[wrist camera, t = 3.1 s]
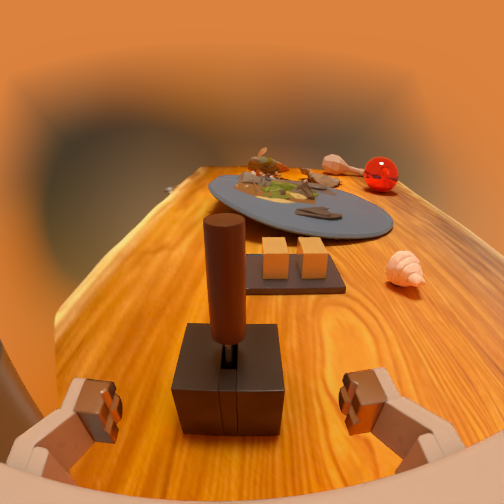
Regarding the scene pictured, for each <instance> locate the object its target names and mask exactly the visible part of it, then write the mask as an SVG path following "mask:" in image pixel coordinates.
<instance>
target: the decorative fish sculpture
mask: <svg viewBox="0 0 504 504" xmlns="http://www.w3.org/2000/svg"><path fill="white" fill-rule="evenodd" d="M266 151H267V148H263V149H262V150H261V151H260V152H259V154H258V157H251V161H250V162H249V163H248V166H247V167H248V169H249V170H251V171H253V170H254V172H256V176H258V177H261V175H263V176H262V177H265V174H267V175H268V173H270V175H272V176H278V175H277V174H276V173H275V172H278V173H283V172H288V171H290V170H289V169H288V168H287V167H286V166H285V165H283V164H281V163H279V162H277V161H276V160H273V159H271V158H269V157H260V156H261V155H263V154H264V153H265V152H266ZM266 164H267V165H266ZM259 172H261V173H262V174H260V173H259Z"/></svg>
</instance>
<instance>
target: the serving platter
mask: <svg viewBox="0 0 504 504" xmlns="http://www.w3.org/2000/svg"><path fill="white" fill-rule="evenodd" d="M266 165H267V164H266ZM259 173H260V174H262V173H261V172H259ZM275 173H276V174H277V173H278V172H275ZM268 175H270V173H268ZM262 176H263V175H261V177H258V176H256V173H255V172H254V170H253V171H252V172H251V173H249V172H246V171H245V172H242V173H241V175H222V176H219V177H217V179H215V180H213V181H211V182H210V183H209V185H208V188H209V191H210V192H211V194H212V195H213V196H214V197H215V198H216V199H218V200H219V201H221V202H222V203H224V204H225V205H227V206H228V207H230V208H231V209H233V210H235V211H237V212H239V213H241V214H243V215H245V216H247V217H249V218H251V219H253V220H255V221H257V222H260V223H262V224H265V225H267V226H270V227H273V228H276V229H280V230H283V231H287V232H291V233H296V234H301V235H306V236H312V237H320V238H329V239H365V238H373V237H378V236H381V235H383V234H385V233H387V232H388V231H389V230H390V229H391V228H392V226H393V219H392V218H391V216H390V215H389V214H388V213H387V212H386V211H385V210H383V209H382V208H380V207H379V206H377V205H375V204H373V203H371V202H369V201H367V200H365V199H362V198H360V197H358V196H356V195H353V194H350V193H347V192H344V191H341V190H337V189H333V188H329V187H326V186H325V185H323V184H318V183H310V182H308V180H307V178H306V179H305V180H304V181H303V182H301V181H292V180H279V179H280V177H281V174H280V175H278V179H275V178H273V176H269V177H271V178H268V177H267V174H265V177H262Z"/></svg>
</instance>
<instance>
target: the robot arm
mask: <svg viewBox="0 0 504 504" xmlns="http://www.w3.org/2000/svg"><path fill="white" fill-rule="evenodd" d="M342 381H343V383H344V386H343V387H342V388H341V389H340V392H339V406H340V409H341V412H342V413H343V414H344V415H346V416H347V417H346V420H345V424H346V426H347V429H348V432H349V435H356V434H361V433H367V432H371V433H372V434H373V435H374V436H376V437H377V438H378V439H379V440H380V441H381V442H383V443H384V444H385V445H386V446H387V447H389V448H390V449H391V450H392V451H394V452H395V453H396V454H397V455H398V456H400V457H401V458H402V459H403V461H402V462H401V463H400V465H399V466H398V468H397V469H396V471H395V475H391V476H388V477H385V478H381V479H377V480H374V481H370V482H366V483H362V484H358V485H353V486H349V487H344V488H339V489H334V490H329V491H324V492H318V493H312V494H305V495H298V496H291V497H282V498H272V499H260V500H244V501H182V500H166V499H154V498H144V497H136V496H128V495H121V494H115V493H109V492H103V491H98V490H93V489H88V488H84V487H79V486H76V484H77V483H76V482H75V480H74V479H73V478H72V477H71V476H70V475H69V474H68V473H67V471H68V470H69V469H70V468H71V467H72V466H73V465H74V464H75V463H76V462H77V461H78V460H79V459H80V458H81V457H82V456H83V455H84V454H85V452H86V451H87V450H88V449H89V448H90V447H91V446H92V445H93V444H94V443H95V442H103V443H112V444H115V443H116V439H117V435H118V431H119V429H118V427H117V425H116V424H117V423H118V422H119V421H121V418H122V401H121V399H120V396H118V395H117V394H116V393H115V391H116V387H115V384H114V382H111V381H102V380H94V379H84V378H77V377H75V378H74V379H73V380H72V382H71V385H70V387H69V389H68V392H67V394H66V396H65V399H64V401H63V403H62V406H61V408H60V409H56V410H55V411H53V412H52V413H51V414H49V415H48V416H46V417H45V418H44V419H42V420H41V421H40V422H38V423H37V424H35V425H34V426H33V427H31V428H30V429H29V430H27V431H26V432H25V433H23V434H22V435H20V436H19V437H18V438H16V439H15V442H14V444H13V447H12V449H11V452H10V454H9V456H8V459H7V462H6V464H3V463H1V462H0V504H504V429H503V430H501V431H499V432H497V433H496V434H494V435H492V436H490V437H488V438H486V439H484V440H482V441H480V442H477V443H475V444H473V445H471V446H469V447H467V448H465V446H464V444H463V442H462V441H461V439H460V437H459V435H458V433H457V432H456V430H455V428H454V426H453V425H452V424H451V423H450V422H448V421H446V420H444V419H442V418H441V417H439V416H437V415H436V414H434V413H432V412H430V411H429V410H427V409H425V408H423V407H422V406H420V405H418V404H417V403H415V402H413V401H412V400H410V399H408V398H406V397H401V395H400V393H399V391H398V389H397V388H396V386H395V384H394V382H393V380H392V379H391V377H390V375H389V373H388V371H387V370H386V368H384V367H380V368H375V369H368V370H362V371H356V372H350V373H345V375H344V377H343V380H342ZM94 441H95V442H94Z"/></svg>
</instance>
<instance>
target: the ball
mask: <svg viewBox="0 0 504 504" xmlns="http://www.w3.org/2000/svg"><path fill="white" fill-rule="evenodd" d="M398 175H399V174H398V169H397V167H396V165H395V164H394V162H393V161H391V160H390V159H388V158H385V157H375V158H373V159H371V160H369V162H368V163H367V164H366V166H365V169H364V179H365V182H366V184H367V185H368V186H369V187H370V188H371V189H372V190H374V191H377V192H387V191H389V190H391V189H393V188H394V187H395V185H396V184H397V181H398Z"/></svg>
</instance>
